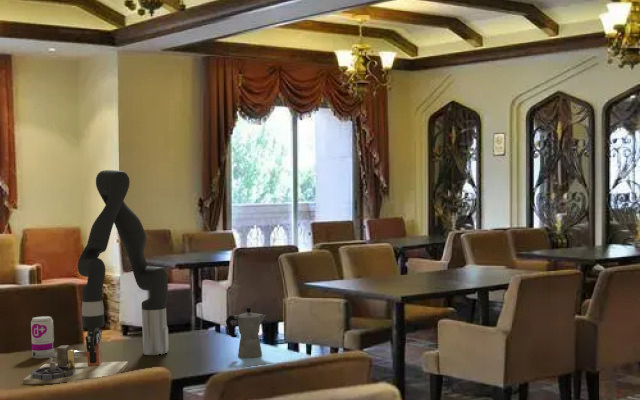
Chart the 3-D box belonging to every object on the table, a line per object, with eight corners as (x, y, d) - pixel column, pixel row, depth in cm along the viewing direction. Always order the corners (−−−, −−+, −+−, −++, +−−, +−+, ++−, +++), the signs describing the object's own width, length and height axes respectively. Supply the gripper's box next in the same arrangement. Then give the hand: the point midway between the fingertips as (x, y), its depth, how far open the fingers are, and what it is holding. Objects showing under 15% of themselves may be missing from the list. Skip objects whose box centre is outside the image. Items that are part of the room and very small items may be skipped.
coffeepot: (263, 351, 338) (262, 304, 338) (270, 356, 329) (269, 307, 329) (224, 355, 333) (222, 307, 332) (230, 360, 324) (228, 311, 324)
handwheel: (69, 367, 312) (68, 346, 312) (80, 375, 300) (79, 353, 300) (27, 373, 304) (26, 352, 304) (37, 381, 292) (36, 358, 292)
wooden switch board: (128, 365, 320) (127, 342, 320) (113, 381, 296) (112, 356, 296) (45, 368, 320) (44, 345, 320) (23, 384, 296) (22, 359, 296)
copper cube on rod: (101, 363, 318) (101, 341, 318) (99, 365, 314) (98, 343, 314) (51, 364, 318) (50, 342, 318) (48, 367, 314) (47, 344, 314)
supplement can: (47, 359, 336) (46, 319, 336) (28, 358, 338) (26, 319, 337) (58, 354, 344) (56, 316, 343) (38, 354, 346) (37, 315, 345)
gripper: (98, 316, 308) (100, 365, 309) (108, 310, 322) (109, 357, 323) (77, 317, 308) (78, 366, 309) (87, 310, 322) (89, 357, 323)
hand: (94, 361), depth 316 cm, fingers closed on copper cube on rod, 4 cm apart
